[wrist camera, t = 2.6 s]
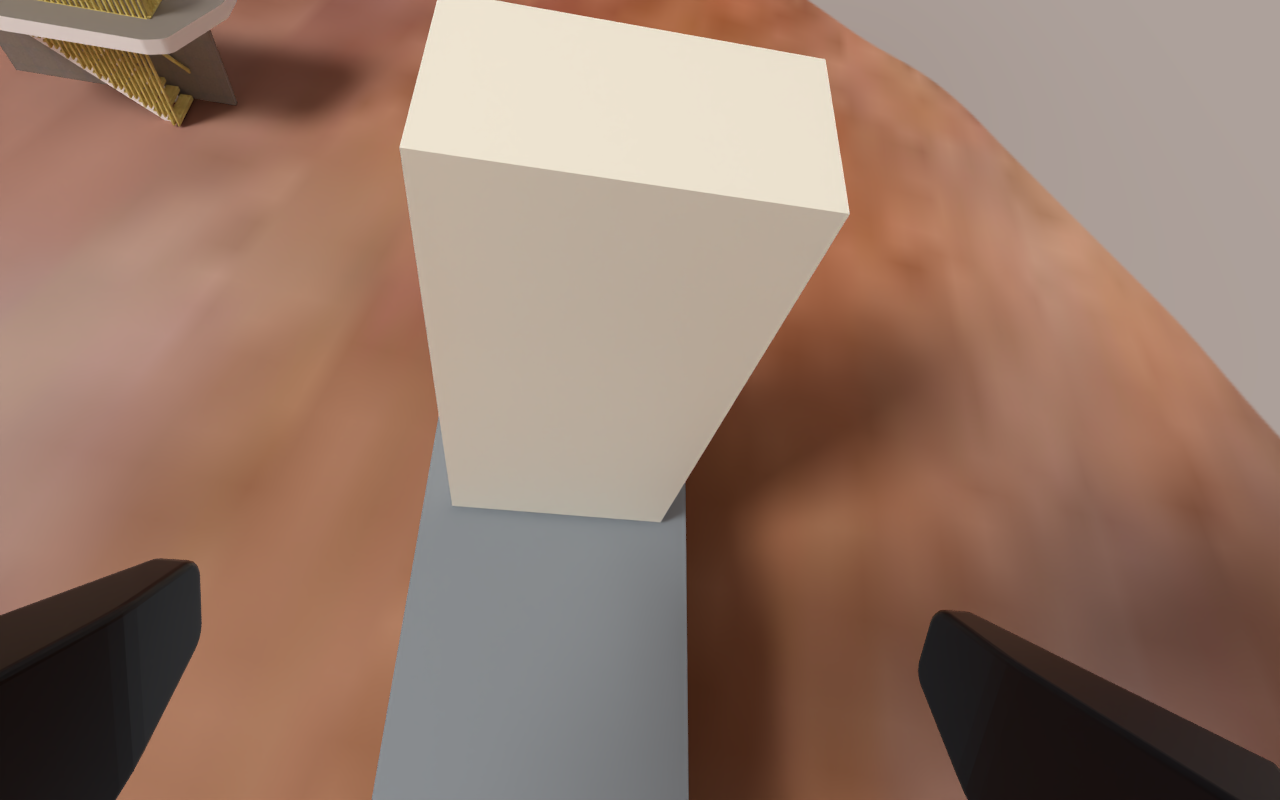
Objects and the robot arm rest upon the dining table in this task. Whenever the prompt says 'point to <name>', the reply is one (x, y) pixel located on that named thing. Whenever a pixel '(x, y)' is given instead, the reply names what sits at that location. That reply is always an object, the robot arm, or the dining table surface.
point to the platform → (124, 47)
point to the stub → (605, 245)
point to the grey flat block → (539, 657)
